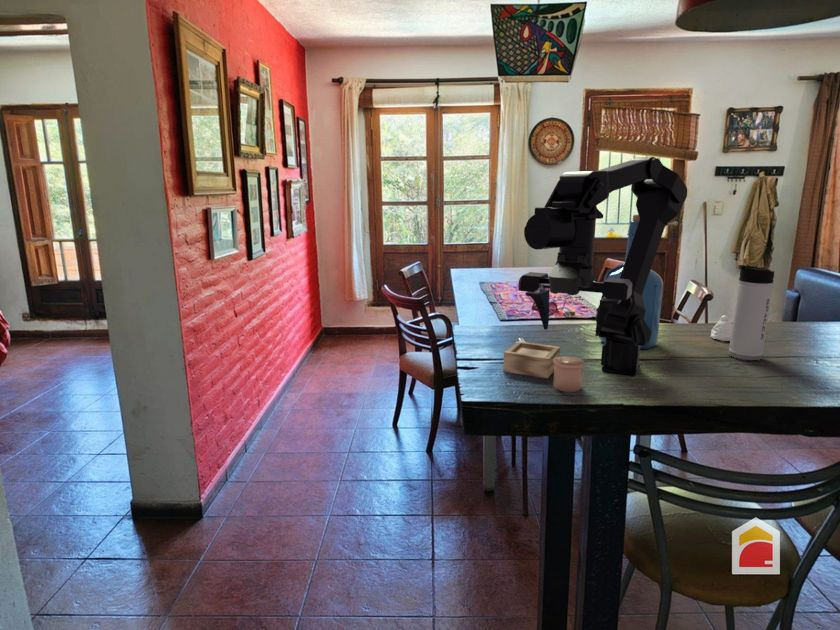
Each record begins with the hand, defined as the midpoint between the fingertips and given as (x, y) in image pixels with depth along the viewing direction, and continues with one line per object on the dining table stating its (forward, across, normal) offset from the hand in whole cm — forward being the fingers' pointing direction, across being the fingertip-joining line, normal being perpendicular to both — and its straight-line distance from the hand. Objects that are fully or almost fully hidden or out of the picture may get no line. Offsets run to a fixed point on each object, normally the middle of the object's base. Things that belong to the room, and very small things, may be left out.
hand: (570, 332), depth 97 cm
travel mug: (+11, +29, +37) cm, 48 cm away
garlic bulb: (+11, +25, +51) cm, 58 cm away
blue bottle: (+11, +5, +36) cm, 38 cm away
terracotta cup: (+10, 0, 0) cm, 10 cm away
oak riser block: (+11, -9, +7) cm, 16 cm away
